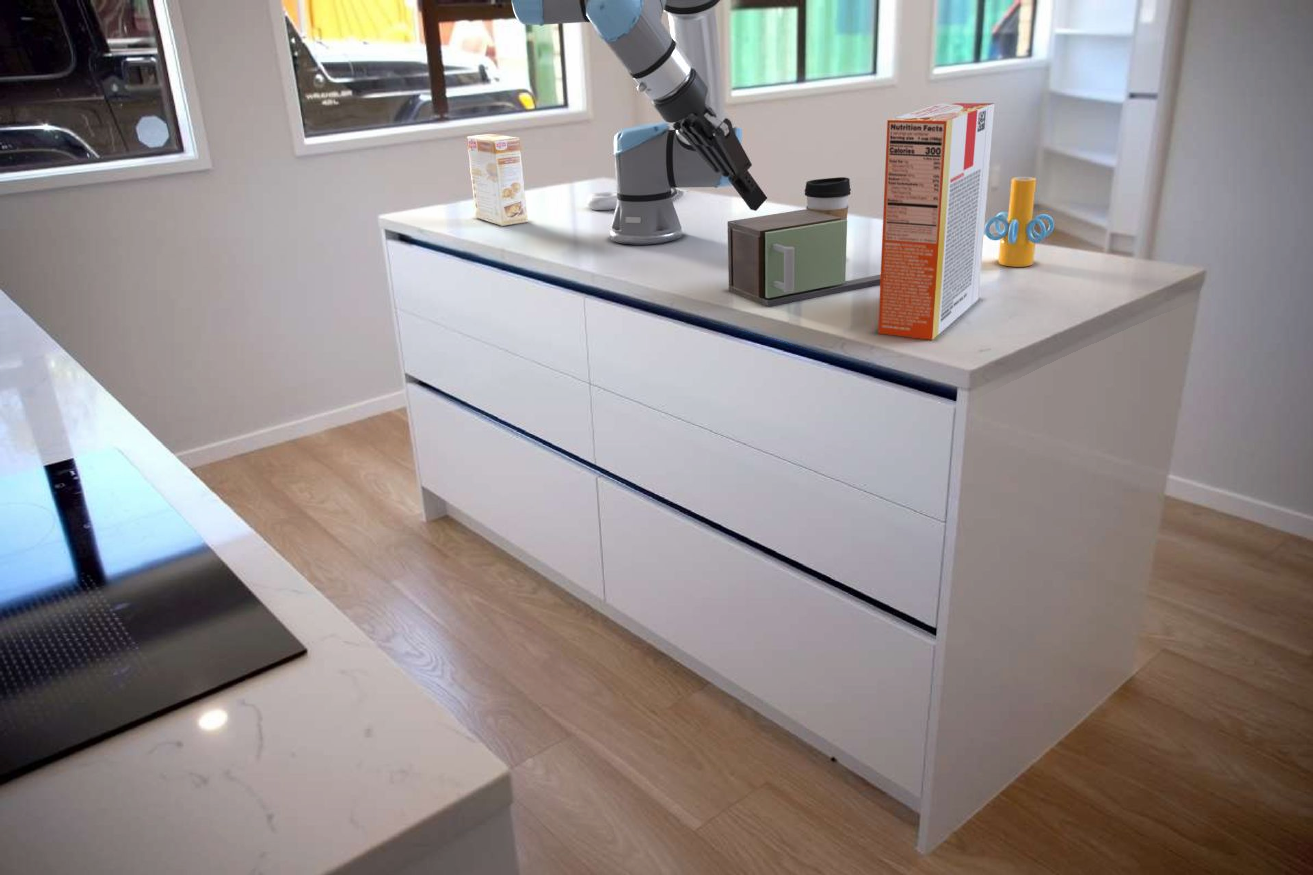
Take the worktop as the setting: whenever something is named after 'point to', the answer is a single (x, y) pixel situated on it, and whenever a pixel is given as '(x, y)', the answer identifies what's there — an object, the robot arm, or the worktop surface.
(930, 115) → the cereal box
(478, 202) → the coffeecake box
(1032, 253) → the cylinder
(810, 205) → the coffee cup
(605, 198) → the donut
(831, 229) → the door
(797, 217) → the cabinet
